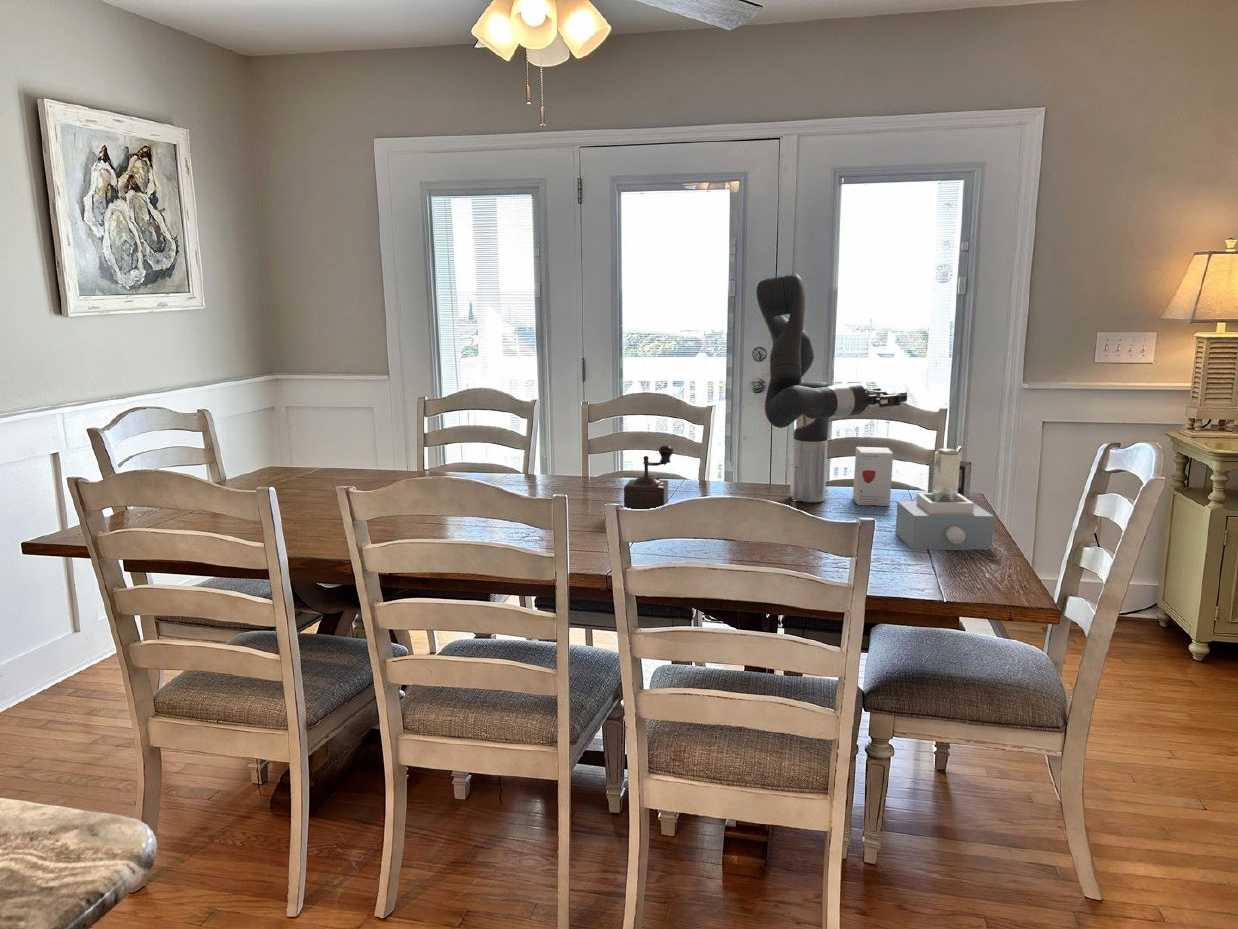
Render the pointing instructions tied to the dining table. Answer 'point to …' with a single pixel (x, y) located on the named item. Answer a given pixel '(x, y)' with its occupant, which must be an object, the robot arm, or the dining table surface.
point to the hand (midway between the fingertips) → (892, 394)
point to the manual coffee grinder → (648, 486)
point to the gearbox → (943, 524)
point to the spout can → (946, 475)
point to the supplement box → (873, 476)
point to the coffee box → (963, 478)
